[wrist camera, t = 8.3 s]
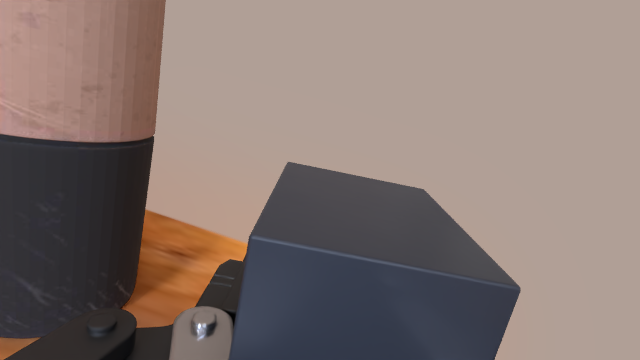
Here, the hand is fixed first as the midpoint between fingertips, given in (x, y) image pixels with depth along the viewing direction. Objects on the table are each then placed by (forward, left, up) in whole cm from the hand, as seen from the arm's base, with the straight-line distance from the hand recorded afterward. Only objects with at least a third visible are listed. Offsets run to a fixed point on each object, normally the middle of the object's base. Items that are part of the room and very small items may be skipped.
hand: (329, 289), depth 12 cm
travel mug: (-14, +2, -6) cm, 15 cm away
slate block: (+1, -3, -6) cm, 7 cm away
